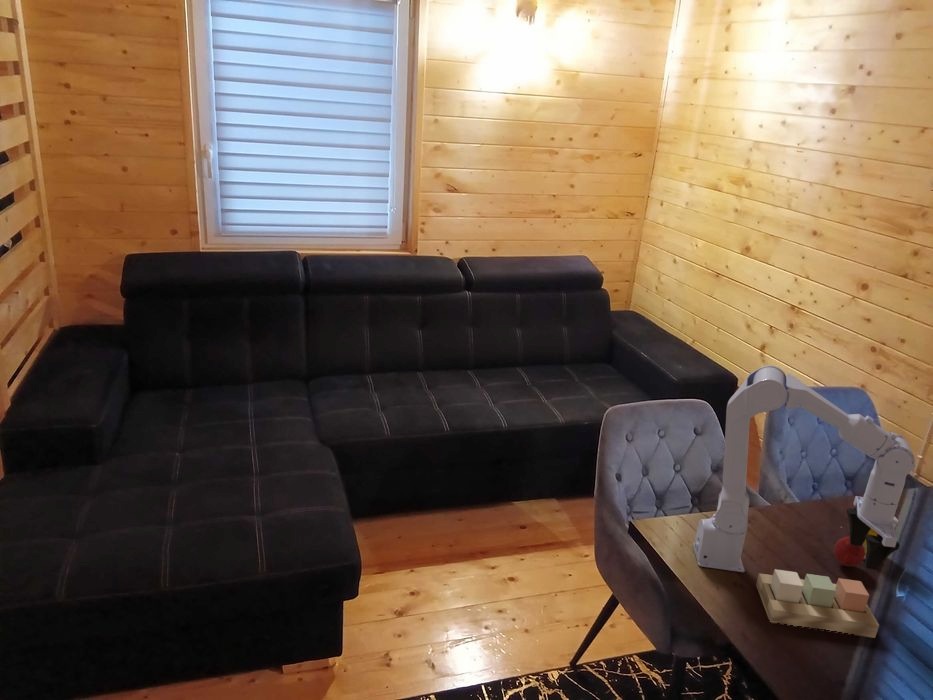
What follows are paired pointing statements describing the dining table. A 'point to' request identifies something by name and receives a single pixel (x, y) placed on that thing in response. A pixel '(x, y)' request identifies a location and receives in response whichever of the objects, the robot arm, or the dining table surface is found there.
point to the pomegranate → (848, 552)
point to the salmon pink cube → (851, 595)
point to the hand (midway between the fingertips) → (863, 555)
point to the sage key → (818, 590)
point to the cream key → (786, 586)
